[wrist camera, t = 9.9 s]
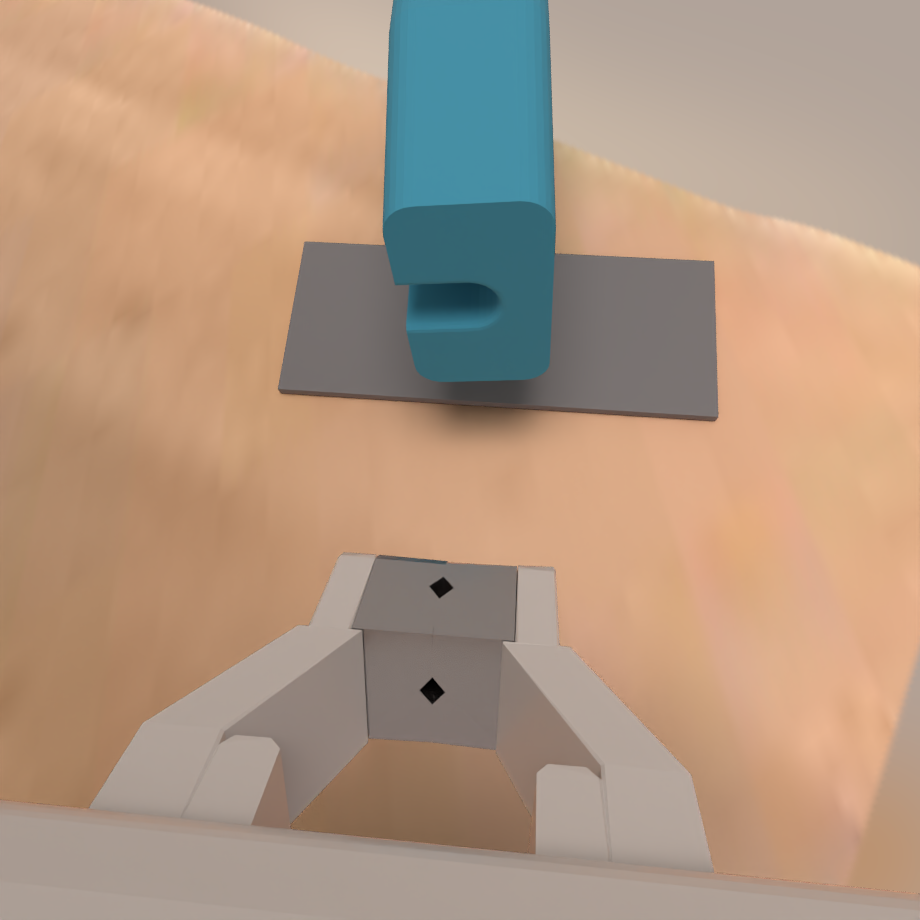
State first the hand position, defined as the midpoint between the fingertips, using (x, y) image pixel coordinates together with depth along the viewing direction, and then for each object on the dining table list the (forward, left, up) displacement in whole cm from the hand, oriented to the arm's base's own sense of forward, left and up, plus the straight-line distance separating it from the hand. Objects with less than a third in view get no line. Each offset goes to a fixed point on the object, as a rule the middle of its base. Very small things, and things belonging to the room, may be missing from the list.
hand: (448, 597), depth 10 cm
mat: (0, +15, -20) cm, 25 cm away
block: (-1, +10, -10) cm, 15 cm away
